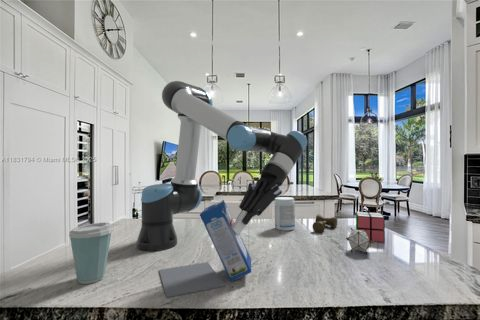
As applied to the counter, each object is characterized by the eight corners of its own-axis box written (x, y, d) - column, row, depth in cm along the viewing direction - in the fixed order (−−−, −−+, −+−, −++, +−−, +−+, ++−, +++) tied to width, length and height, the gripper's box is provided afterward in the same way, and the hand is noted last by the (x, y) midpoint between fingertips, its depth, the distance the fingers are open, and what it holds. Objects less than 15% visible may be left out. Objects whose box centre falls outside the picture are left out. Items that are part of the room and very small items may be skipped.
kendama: (307, 232, 123) (320, 222, 139) (328, 236, 117) (339, 225, 134) (307, 219, 122) (320, 211, 139) (328, 222, 117) (339, 214, 133)
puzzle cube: (384, 242, 105) (384, 217, 105) (357, 240, 108) (357, 216, 108) (381, 236, 114) (380, 212, 114) (355, 234, 118) (355, 211, 118)
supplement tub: (298, 228, 127) (298, 198, 127) (287, 232, 121) (287, 200, 121) (282, 225, 134) (282, 196, 134) (270, 228, 127) (270, 198, 128)
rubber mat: (159, 270, 79) (159, 269, 79) (207, 263, 85) (207, 262, 85) (166, 297, 63) (166, 296, 63) (225, 286, 69) (225, 284, 69)
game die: (362, 260, 96) (378, 238, 97) (362, 259, 89) (379, 235, 89) (340, 244, 101) (355, 223, 101) (338, 242, 93) (354, 219, 94)
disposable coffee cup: (64, 291, 67) (64, 231, 67) (72, 274, 77) (72, 222, 77) (111, 283, 71) (111, 227, 71) (113, 268, 81) (113, 219, 81)
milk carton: (232, 267, 81) (205, 208, 82) (251, 258, 81) (223, 199, 82) (230, 281, 71) (199, 214, 72) (251, 272, 71) (220, 205, 72)
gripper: (298, 179, 80) (257, 245, 69) (268, 177, 90) (228, 235, 80) (286, 162, 76) (241, 229, 66) (256, 161, 87) (213, 219, 76)
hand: (234, 232), depth 73 cm, fingers closed
